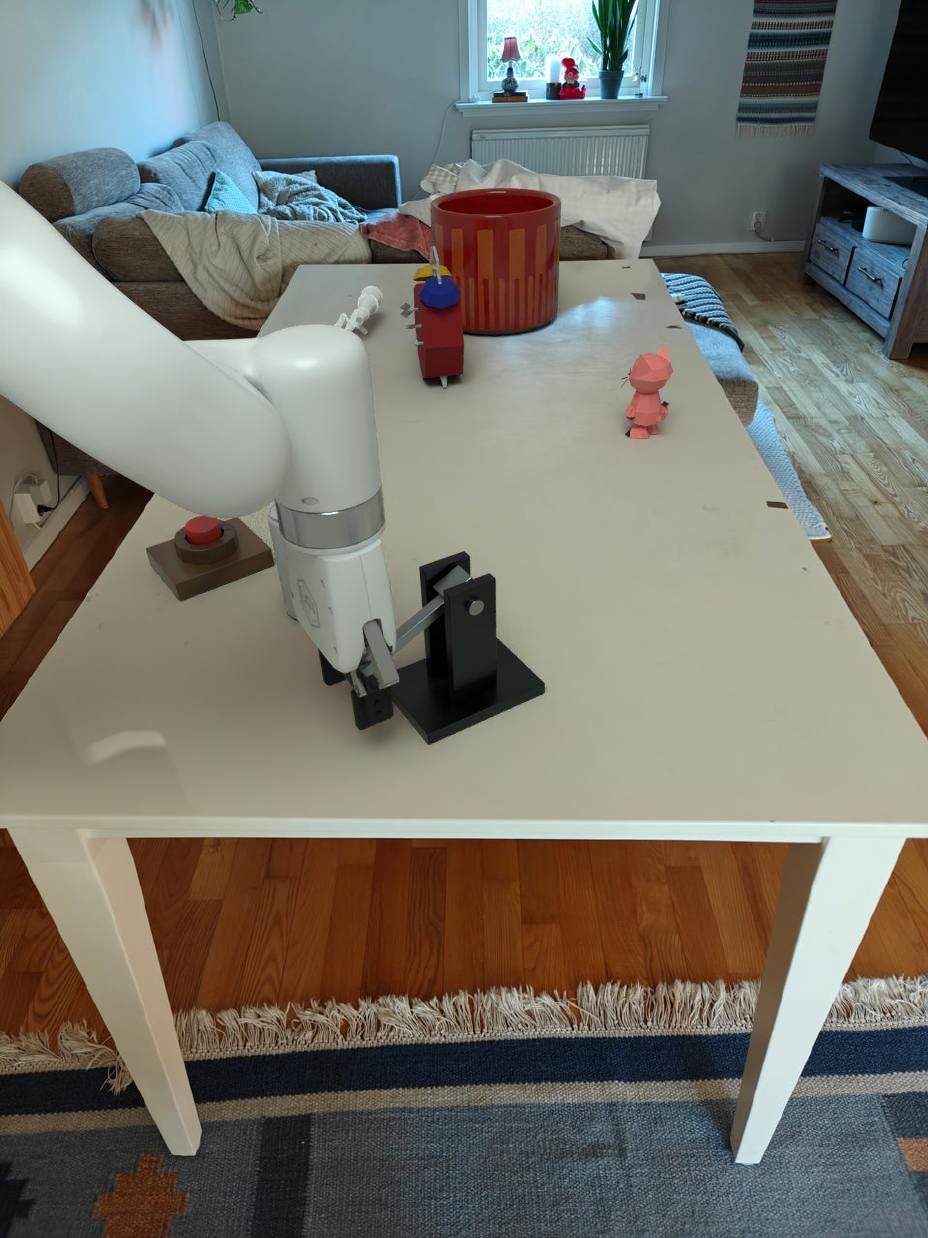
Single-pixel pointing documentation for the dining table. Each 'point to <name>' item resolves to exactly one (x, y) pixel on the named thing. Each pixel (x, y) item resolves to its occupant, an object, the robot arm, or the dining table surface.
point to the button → (203, 530)
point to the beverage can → (280, 559)
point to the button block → (209, 559)
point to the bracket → (461, 659)
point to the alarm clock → (437, 322)
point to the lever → (421, 617)
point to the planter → (500, 256)
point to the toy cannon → (363, 309)
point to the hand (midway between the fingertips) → (357, 698)
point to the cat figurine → (648, 392)
